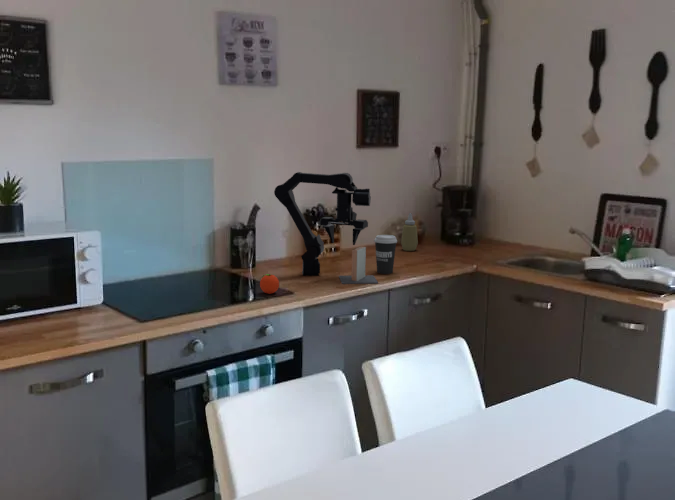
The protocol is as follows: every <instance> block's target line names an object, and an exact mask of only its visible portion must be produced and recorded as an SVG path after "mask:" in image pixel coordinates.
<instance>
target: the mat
mask: <svg viewBox="0 0 675 500" xmlns="http://www.w3.org/2000/svg"><path fill="white" fill-rule="evenodd" d="M338 278H339V281H340V283H341V285H349V284H350V285H353V284H354V285H358V284H359V285H361V284H362V285H365V284H367V285H368V284H371V285H372V284H375V285H376V284H379V282H378V280H377V278H376V277H375V276H374V275H372V274H370V275H369V274H367V275H366V274H365V277H364V278H362V279H360V280H358V281H353V280H352V275H338Z"/></svg>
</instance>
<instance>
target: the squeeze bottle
mask: <svg viewBox="0 0 675 500" xmlns="http://www.w3.org/2000/svg"><path fill="white" fill-rule="evenodd" d="M400 239H401V240H400V244H401V246H402V247H401V248H402V250H403V251H405V252H414V251H416V249H417V247H418V244H419V241H418V226H417V225H416V220H414V219H413V214H412V213H411V212H409V214H408V215H407V220H405V222H404V225H403V226H402V233H401V238H400Z"/></svg>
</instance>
